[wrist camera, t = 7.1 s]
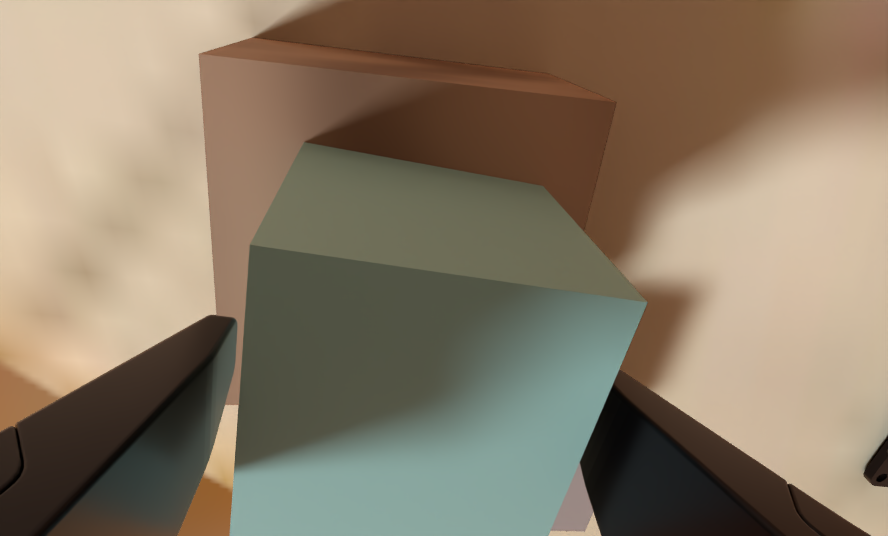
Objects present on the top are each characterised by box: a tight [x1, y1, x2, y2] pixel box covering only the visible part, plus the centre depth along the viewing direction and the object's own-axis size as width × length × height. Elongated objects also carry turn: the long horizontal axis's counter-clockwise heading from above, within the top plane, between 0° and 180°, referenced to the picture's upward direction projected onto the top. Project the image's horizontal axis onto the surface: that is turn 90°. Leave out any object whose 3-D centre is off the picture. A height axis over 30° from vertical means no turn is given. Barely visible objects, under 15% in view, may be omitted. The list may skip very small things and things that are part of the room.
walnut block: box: [199, 38, 616, 405], centre depth 14 cm, size 8×8×5 cm
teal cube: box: [230, 142, 648, 536], centre depth 10 cm, size 5×5×5 cm
